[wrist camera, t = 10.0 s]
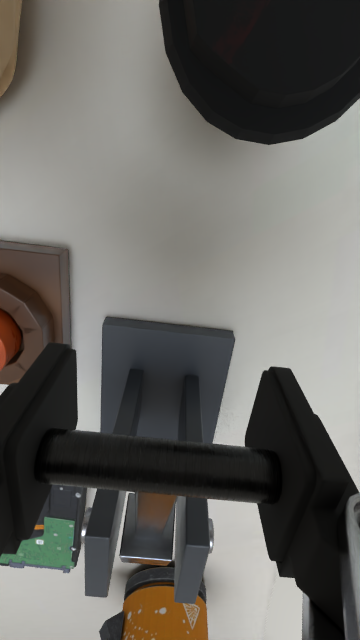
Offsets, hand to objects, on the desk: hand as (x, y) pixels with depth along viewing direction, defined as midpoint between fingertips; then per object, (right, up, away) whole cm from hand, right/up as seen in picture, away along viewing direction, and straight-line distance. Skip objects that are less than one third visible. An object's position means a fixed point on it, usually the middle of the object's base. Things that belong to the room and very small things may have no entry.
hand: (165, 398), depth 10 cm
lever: (-1, -4, +3) cm, 5 cm away
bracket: (-1, -3, +15) cm, 16 cm away
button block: (-11, +3, +13) cm, 17 cm away
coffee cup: (+3, +15, +7) cm, 17 cm away
